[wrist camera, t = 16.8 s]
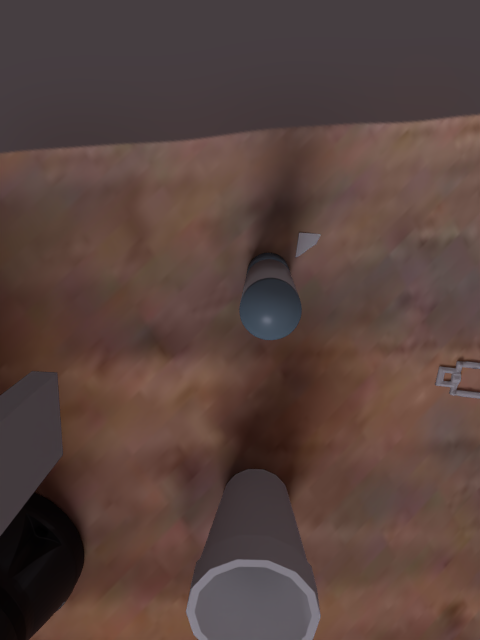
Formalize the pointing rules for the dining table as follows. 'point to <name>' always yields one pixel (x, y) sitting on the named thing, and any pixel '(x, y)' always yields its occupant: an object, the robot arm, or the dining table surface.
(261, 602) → the foam cup
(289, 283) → the cylinder
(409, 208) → the dining table surface
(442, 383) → the small grey pieces
